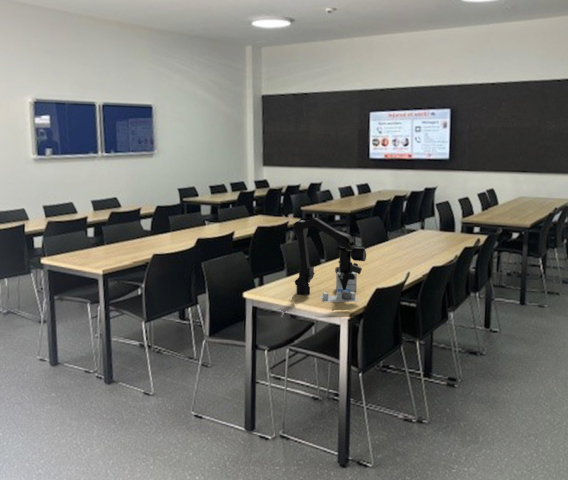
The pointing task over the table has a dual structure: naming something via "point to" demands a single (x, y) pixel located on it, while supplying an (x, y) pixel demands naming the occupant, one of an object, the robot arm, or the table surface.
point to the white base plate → (338, 296)
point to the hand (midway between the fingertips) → (344, 289)
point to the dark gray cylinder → (346, 295)
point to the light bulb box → (351, 283)
